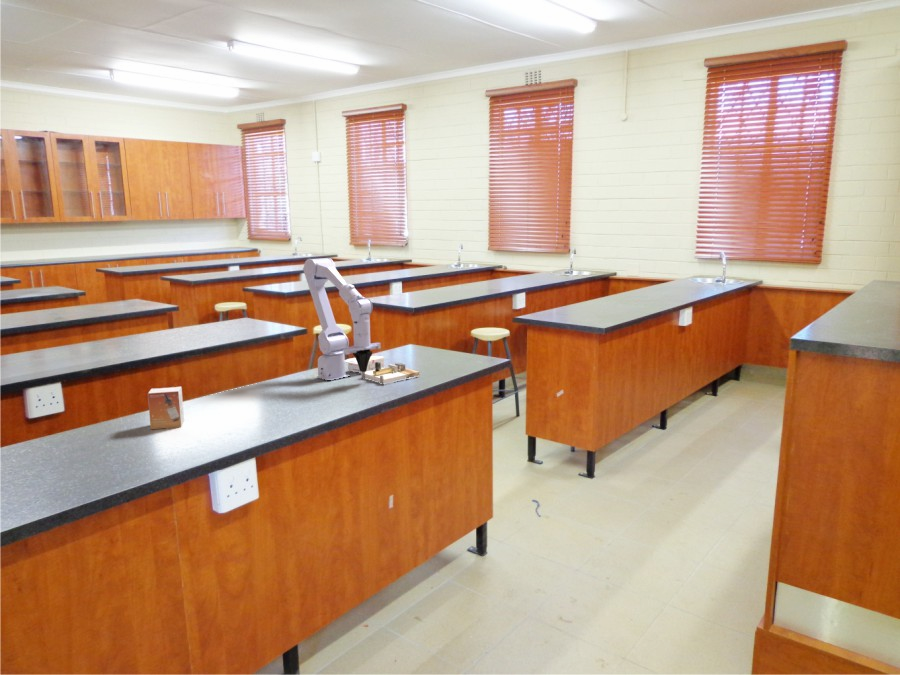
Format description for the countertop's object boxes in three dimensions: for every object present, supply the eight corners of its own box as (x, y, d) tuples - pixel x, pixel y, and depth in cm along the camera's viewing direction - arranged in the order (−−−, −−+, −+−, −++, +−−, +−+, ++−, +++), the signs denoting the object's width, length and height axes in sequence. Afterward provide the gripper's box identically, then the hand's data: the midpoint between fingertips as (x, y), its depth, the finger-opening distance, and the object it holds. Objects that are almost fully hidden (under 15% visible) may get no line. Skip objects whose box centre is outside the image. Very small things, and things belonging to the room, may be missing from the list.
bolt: (376, 375, 215) (376, 363, 214) (373, 374, 217) (372, 362, 216) (394, 371, 221) (393, 360, 220) (390, 370, 222) (390, 359, 221)
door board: (383, 385, 210) (382, 373, 209) (360, 378, 220) (359, 366, 220) (406, 379, 217) (406, 368, 217) (383, 373, 227) (383, 361, 227)
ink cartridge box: (369, 366, 240) (341, 372, 228) (369, 354, 239) (341, 359, 227) (384, 369, 235) (357, 376, 223) (384, 356, 234) (357, 362, 222)
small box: (150, 430, 166) (146, 393, 164) (154, 423, 171) (150, 388, 169) (181, 427, 168) (178, 391, 166) (184, 421, 173) (181, 385, 171)
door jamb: (408, 379, 218) (407, 367, 217) (384, 373, 228) (384, 361, 227) (419, 377, 221) (419, 365, 221) (395, 370, 231) (395, 359, 231)
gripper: (350, 337, 202) (352, 376, 204) (385, 332, 212) (386, 369, 214) (339, 334, 207) (340, 373, 210) (373, 329, 217) (374, 366, 219)
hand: (363, 371), depth 212 cm, fingers closed
